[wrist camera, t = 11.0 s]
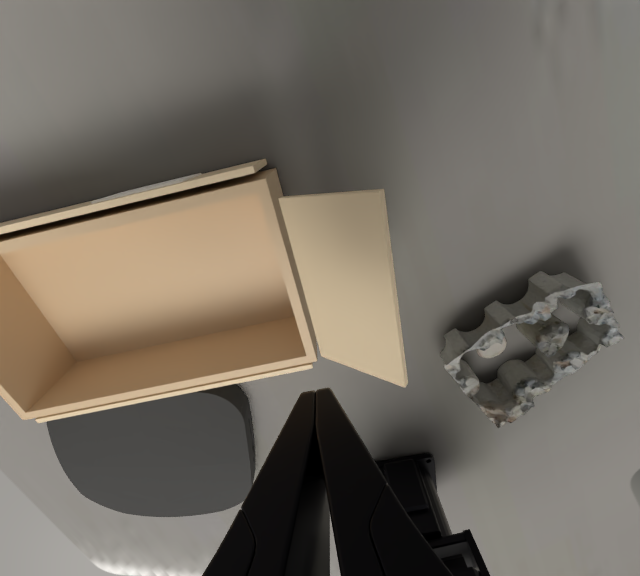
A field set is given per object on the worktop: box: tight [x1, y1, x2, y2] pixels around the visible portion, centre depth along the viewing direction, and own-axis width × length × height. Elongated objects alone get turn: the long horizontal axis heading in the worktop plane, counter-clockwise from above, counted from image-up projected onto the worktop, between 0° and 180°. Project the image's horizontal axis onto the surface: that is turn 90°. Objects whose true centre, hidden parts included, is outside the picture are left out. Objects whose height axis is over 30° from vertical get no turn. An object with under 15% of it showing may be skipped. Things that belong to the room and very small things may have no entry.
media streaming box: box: [47, 384, 255, 517], centre depth 26 cm, size 15×15×3 cm
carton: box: [0, 159, 317, 423], centre depth 18 cm, size 11×18×5 cm, turn 102°
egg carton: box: [440, 271, 624, 428], centre depth 22 cm, size 11×8×4 cm
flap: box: [278, 189, 408, 388], centre depth 13 cm, size 8×1×5 cm
